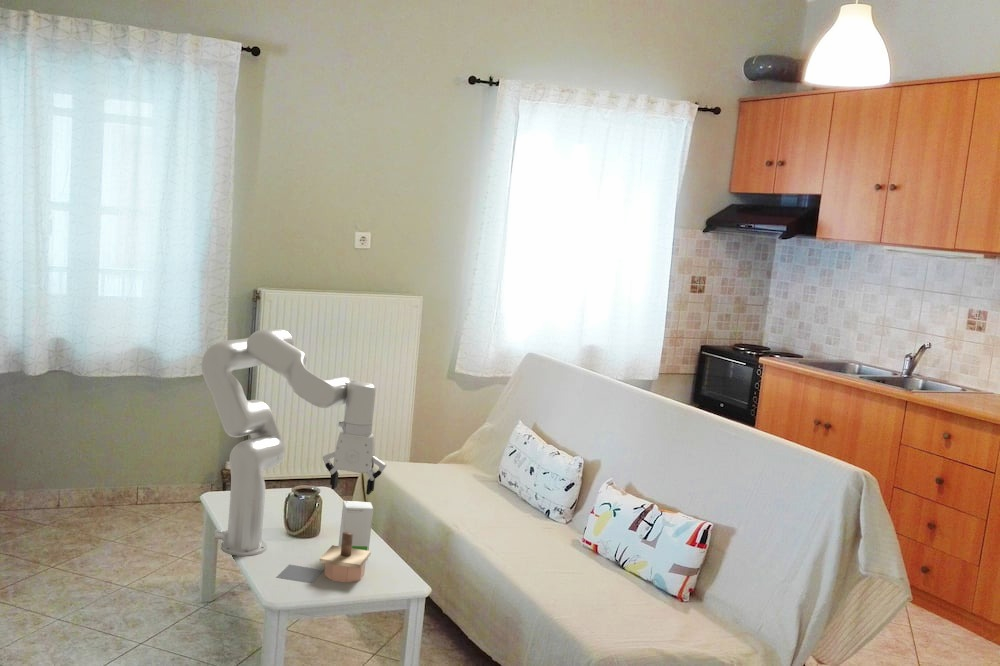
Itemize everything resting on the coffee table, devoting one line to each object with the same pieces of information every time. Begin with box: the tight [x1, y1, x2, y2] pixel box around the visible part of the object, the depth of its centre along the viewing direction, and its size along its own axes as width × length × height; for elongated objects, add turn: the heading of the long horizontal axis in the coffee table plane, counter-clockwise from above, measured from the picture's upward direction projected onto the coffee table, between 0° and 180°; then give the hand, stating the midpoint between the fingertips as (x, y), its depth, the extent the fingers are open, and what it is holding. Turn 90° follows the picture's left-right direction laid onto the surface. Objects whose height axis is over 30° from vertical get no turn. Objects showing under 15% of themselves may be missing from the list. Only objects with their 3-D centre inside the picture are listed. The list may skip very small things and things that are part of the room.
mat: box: [275, 564, 325, 584], centre depth 257 cm, size 10×10×1 cm
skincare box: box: [337, 500, 374, 551], centre depth 274 cm, size 8×7×16 cm
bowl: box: [324, 560, 367, 583], centre depth 259 cm, size 10×10×5 cm
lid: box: [319, 532, 372, 568], centre depth 259 cm, size 11×11×7 cm
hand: (351, 490), depth 257 cm, fingers open, 9 cm apart
